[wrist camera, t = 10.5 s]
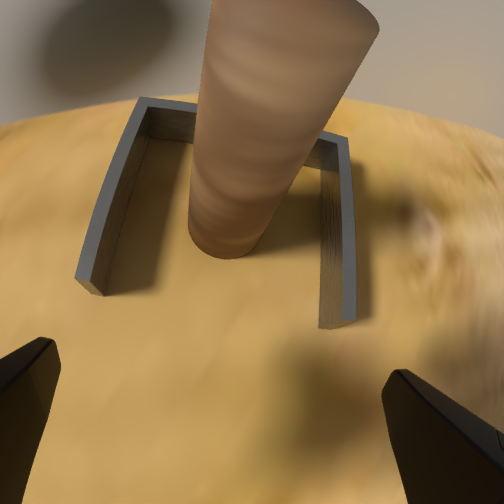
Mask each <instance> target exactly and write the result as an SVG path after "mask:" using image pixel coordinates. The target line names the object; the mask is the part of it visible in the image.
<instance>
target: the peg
mask: <svg viewBox="0 0 504 504" xmlns="http://www.w3.org/2000/svg"><path fill="white" fill-rule="evenodd" d="M378 33H379V25H378V22H377V20H376V19H375V17H374V16H373V15H372V14H371V13H370V12H369V10H368V9H366V8H365V7H364V6H363V5H362V4H361V3H359V2H358V1H356V0H213V1H212V6H211V12H210V19H209V24H208V31H207V37H206V45H205V51H204V58H203V65H202V73H201V81H200V89H199V97H198V106H197V115H196V125H195V135H194V145H193V157H192V169H191V182H190V196H189V211H188V230H189V233H190V236H191V238H192V240H193V242H194V243H195V244H196V246H197V247H198V248H199V249H201V250H202V251H203V252H205V253H206V254H208V255H210V256H213V257H215V258H220V259H234V258H238V257H241V256H244V255H245V254H247V253H249V252H250V251H251V250H252V249H253V248H254V247H255V246H256V245H257V243H258V242H259V240H260V238H261V236H262V235H263V233H264V231H265V229H266V228H267V226H268V224H269V222H270V221H271V219H272V217H273V216H274V214H275V212H276V210H277V209H278V207H279V205H280V203H281V202H282V200H283V198H284V196H285V195H286V193H287V191H288V189H289V188H290V186H291V184H292V183H293V181H294V179H295V177H296V176H297V174H298V172H299V170H300V169H301V167H302V165H303V163H304V162H305V160H306V158H307V157H308V155H309V153H310V151H311V150H312V148H313V146H314V144H315V143H316V141H317V139H318V137H319V136H320V134H321V132H322V131H323V129H324V127H325V125H326V124H327V122H328V120H329V118H330V117H331V115H332V113H333V111H334V110H335V108H336V106H337V105H338V103H339V101H340V99H341V98H342V96H343V94H344V92H345V91H346V89H347V87H348V85H349V84H350V82H351V80H352V78H353V77H354V75H355V73H356V71H357V69H358V68H359V66H360V65H361V63H362V61H363V59H364V58H365V56H366V54H367V52H368V51H369V49H370V47H371V45H372V44H373V42H374V40H375V39H376V37H377V35H378Z"/></svg>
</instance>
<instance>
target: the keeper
mask: <svg viewBox="0 0 504 504" xmlns="http://www.w3.org/2000/svg"><path fill="white" fill-rule="evenodd" d="M197 106H198V104H195V103H188V102H181V101H174V100H165V99H157V98H147V97H139V99H138V101H137V103H136V105H135V108H134V110H133V112H132V114H131V116H130V118H129V121H128V123H127V125H126V127H125V130H124V132H123V134H122V137H121V139H120V141H119V144H118V146H117V149H116V151H115V153H114V156H113V158H112V161H111V164H110V166H109V169H108V171H107V174H106V177H105V179H104V182H103V185H102V188H101V191H100V193H99V196H98V199H97V202H96V205H95V208H94V211H93V214H92V217H91V221H90V224H89V227H88V230H87V234H86V237H85V241H84V244H83V248H82V251H81V255H80V259H79V262H78V266H77V270H76V274H75V279H76V280H77V281H78V282H79V283H80V284H81V285H82V286H83V287H84V288H85V289H86V290H88V291H89V292H90V293H91V294H95V295H99V296H105V291H106V286H107V282H108V277H109V273H110V268H111V264H112V260H113V256H114V252H115V248H116V244H117V240H118V236H119V233H120V229H121V225H122V222H123V218H124V215H125V211H126V208H127V204H128V201H129V198H130V194H131V191H132V188H133V185H134V182H135V179H136V176H137V173H138V170H139V167H140V164H141V161H142V158H143V155H144V152H145V149H146V147H147V144H148V141H149V138H150V137H152V138H159V139H167V140H174V141H181V142H187V143H194V135H195V125H196V115H197ZM303 165H305V166H309V167H313V168H317V169H320V170H321V273H320V304H319V326H318V328H320V329H334V328H337V327H340V326H343V325H346V324H349V323H352V322H354V321H356V242H355V220H354V203H353V188H352V176H351V165H350V155H349V145H348V138H347V137H343V136H340V135H337V134H333V133H330V132H326V131H322V132H321V134H320V136H319V137H318V139H317V141H316V143H315V144H314V146H313V148H312V150H311V151H310V153H309V155H308V157H307V158H306V160H305V162H304V163H303Z"/></svg>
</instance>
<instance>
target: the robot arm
mask: <svg viewBox="0 0 504 504" xmlns="http://www.w3.org/2000/svg"><path fill="white" fill-rule="evenodd" d="M60 371H61V362H60V358H59V354H58V350H57V346H56V342H55V341H54V340H53V339H50V338H46V337H38V338H37V339H35V340H33V341H31V342H29V343H28V344H26V345H24V346H22V347H21V348H19V349H17V350H15V351H13V352H12V353H10V354H8V355H6V356H5V357H3V358H1V359H0V504H22V500H23V496H24V492H25V489H26V485H27V482H28V478H29V475H30V471H31V468H32V465H33V461H34V458H35V455H36V452H37V449H38V446H39V443H40V440H41V437H42V434H43V432H44V429H45V426H46V423H47V420H48V416H49V413H50V409H51V405H52V401H53V397H54V393H55V389H56V386H57V382H58V379H59V375H60ZM381 397H382V403H383V407H384V412H385V417H386V422H387V427H388V432H389V437H390V441H391V445H392V449H393V452H394V455H395V459H396V462H397V465H398V469H399V472H400V476H401V480H402V483H403V487H404V490H405V494H406V498H407V502H408V504H504V434H503V433H502V432H500V431H499V430H497V429H495V428H494V427H493V426H491V425H490V424H488V423H487V422H485V421H484V420H482V419H481V418H479V417H478V416H476V415H475V414H473V413H472V412H470V411H469V410H467V409H466V408H464V407H463V406H461V405H460V404H458V403H457V402H455V401H454V400H452V399H451V398H449V397H448V396H446V395H445V394H443V393H442V392H440V391H439V390H437V389H436V388H434V387H433V386H431V385H430V384H428V383H427V382H426V381H424V380H423V379H421V378H420V377H418V376H417V375H415V374H414V373H412V372H411V371H409V370H408V369H396V370H394V371H393V372H392V373H391V375H390V377H389V378H388V380H387V382H386V384H385V386H384V388H383V390H382V394H381Z"/></svg>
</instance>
